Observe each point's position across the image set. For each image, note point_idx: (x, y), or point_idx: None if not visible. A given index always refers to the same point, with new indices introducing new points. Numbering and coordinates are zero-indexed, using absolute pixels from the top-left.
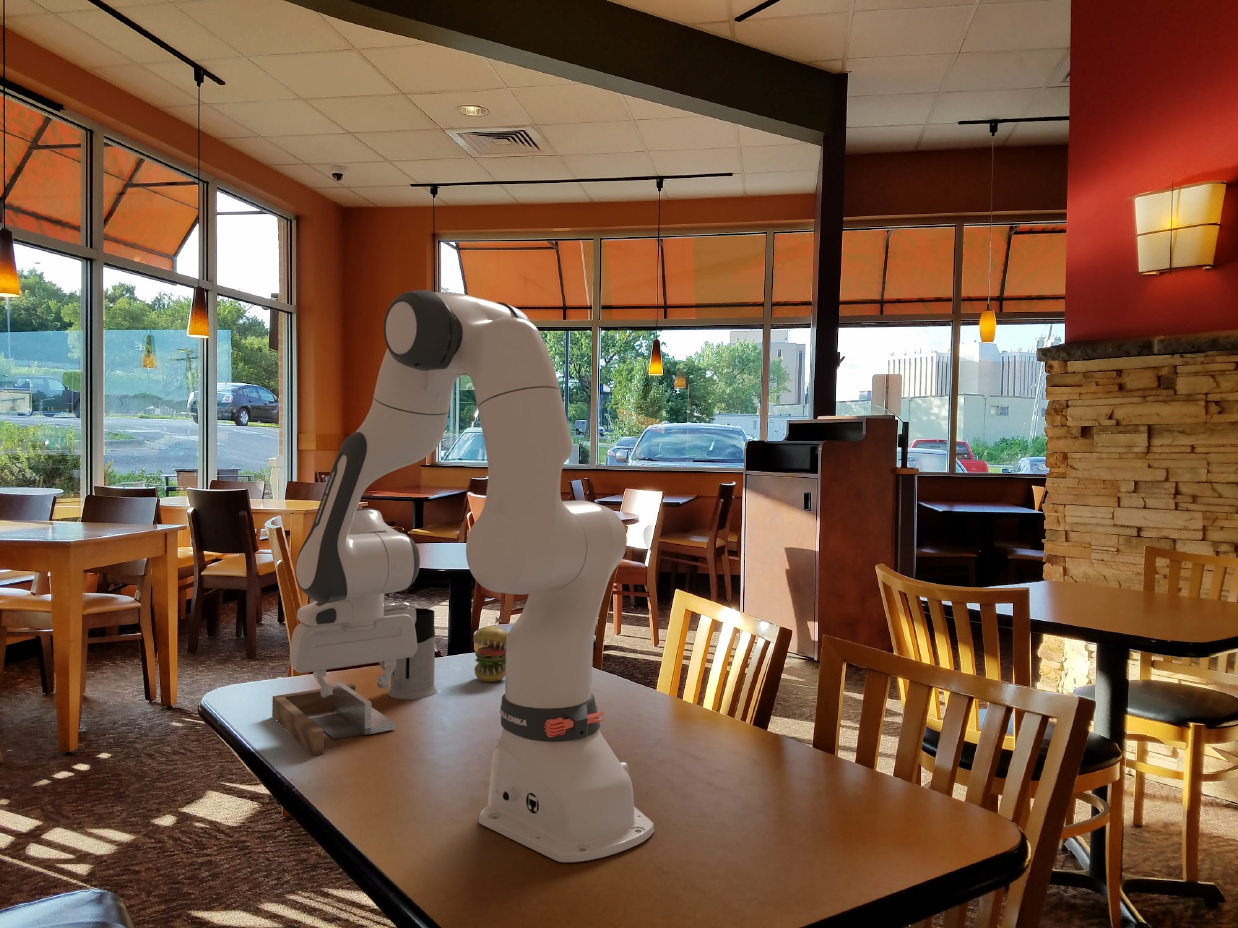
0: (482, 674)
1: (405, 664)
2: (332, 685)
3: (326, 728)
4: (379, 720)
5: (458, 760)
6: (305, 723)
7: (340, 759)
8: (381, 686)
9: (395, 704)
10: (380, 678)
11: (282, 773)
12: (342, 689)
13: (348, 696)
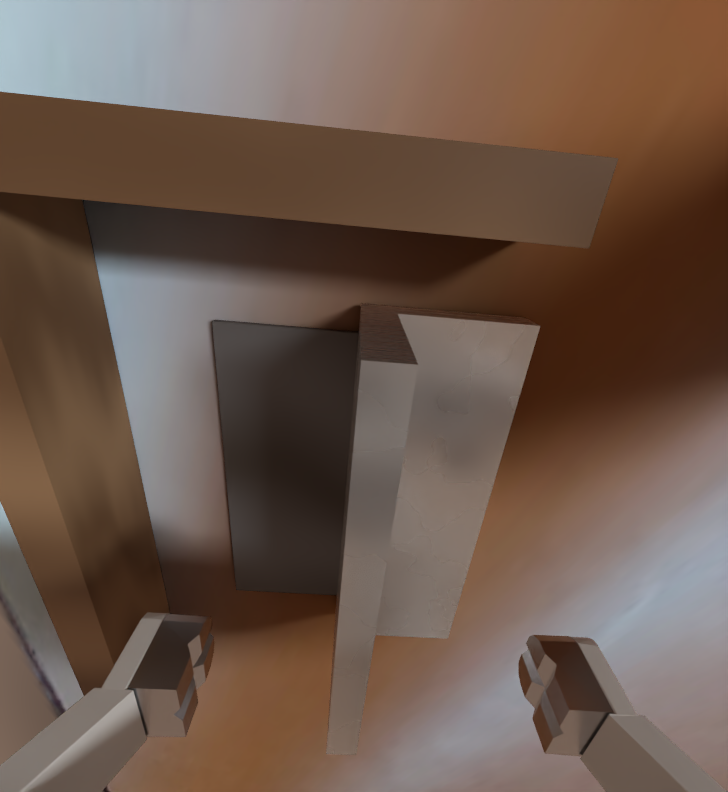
0: None
1: None
2: (183, 730)
3: (243, 496)
4: (420, 597)
5: (432, 780)
6: (82, 674)
7: (211, 689)
8: (520, 682)
9: (676, 362)
10: (546, 734)
11: (57, 690)
12: (347, 512)
13: (340, 583)
